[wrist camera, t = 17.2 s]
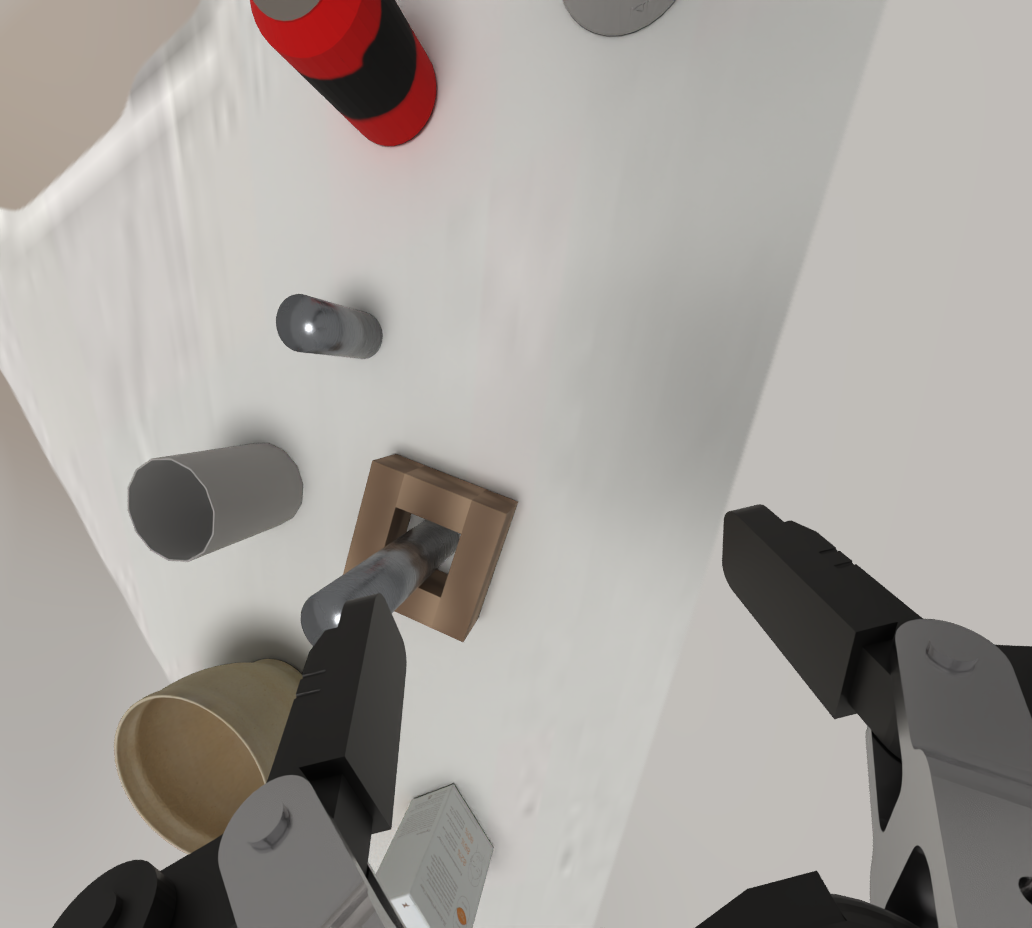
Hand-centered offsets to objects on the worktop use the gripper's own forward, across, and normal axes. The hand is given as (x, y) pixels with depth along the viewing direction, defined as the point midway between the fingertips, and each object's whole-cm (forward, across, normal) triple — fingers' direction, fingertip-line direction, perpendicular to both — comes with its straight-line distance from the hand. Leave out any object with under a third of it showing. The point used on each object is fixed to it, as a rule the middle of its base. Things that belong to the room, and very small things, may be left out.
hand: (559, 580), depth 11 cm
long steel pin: (+27, +8, +17) cm, 33 cm away
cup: (+34, +24, +11) cm, 43 cm away
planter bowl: (+28, +30, +33) cm, 52 cm away
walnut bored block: (+27, +8, +17) cm, 33 cm away
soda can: (+39, +2, -17) cm, 43 cm away
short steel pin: (+34, +10, -1) cm, 36 cm away
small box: (+18, +14, +45) cm, 50 cm away
